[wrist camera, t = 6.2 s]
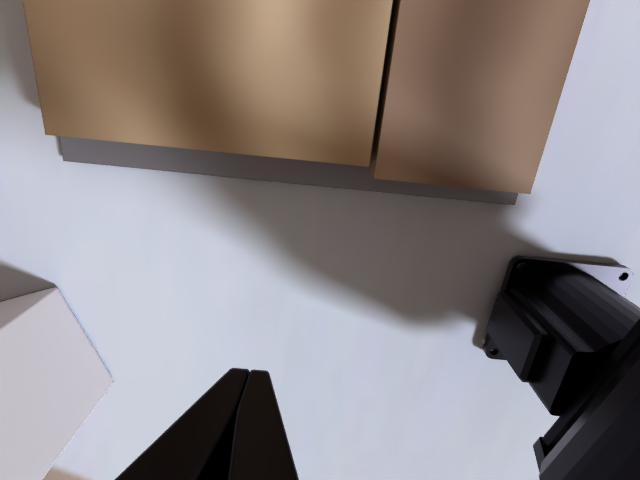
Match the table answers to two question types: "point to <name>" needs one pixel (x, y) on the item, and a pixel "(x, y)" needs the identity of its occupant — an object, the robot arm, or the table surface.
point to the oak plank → (213, 73)
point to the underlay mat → (262, 167)
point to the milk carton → (43, 382)
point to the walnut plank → (472, 90)
